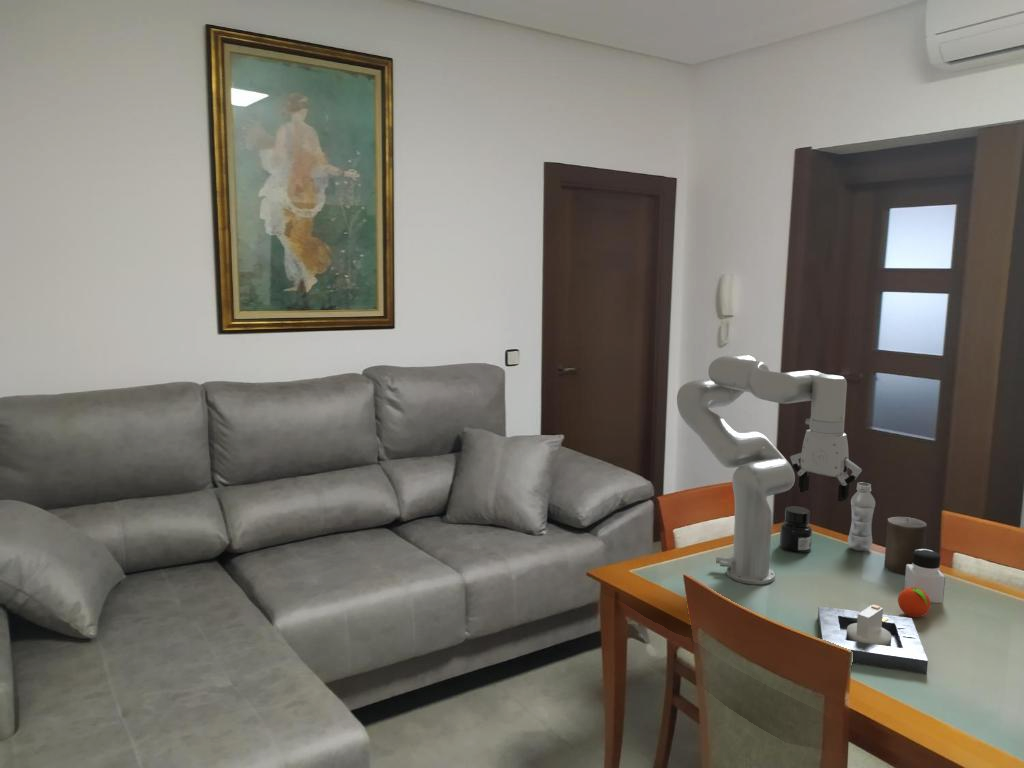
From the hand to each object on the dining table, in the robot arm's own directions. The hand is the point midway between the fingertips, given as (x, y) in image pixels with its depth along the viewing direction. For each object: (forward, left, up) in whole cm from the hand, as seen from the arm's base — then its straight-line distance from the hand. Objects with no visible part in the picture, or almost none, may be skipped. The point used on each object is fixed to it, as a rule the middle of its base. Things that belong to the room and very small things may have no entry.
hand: (822, 495), depth 184 cm
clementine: (+22, +1, -28) cm, 36 cm away
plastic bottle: (+14, +44, -28) cm, 54 cm away
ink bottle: (-4, +39, -28) cm, 49 cm away
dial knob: (+10, -17, -27) cm, 33 cm away
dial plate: (+10, -17, -28) cm, 35 cm away
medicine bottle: (+26, +14, -28) cm, 41 cm away
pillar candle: (+24, +32, -29) cm, 49 cm away
